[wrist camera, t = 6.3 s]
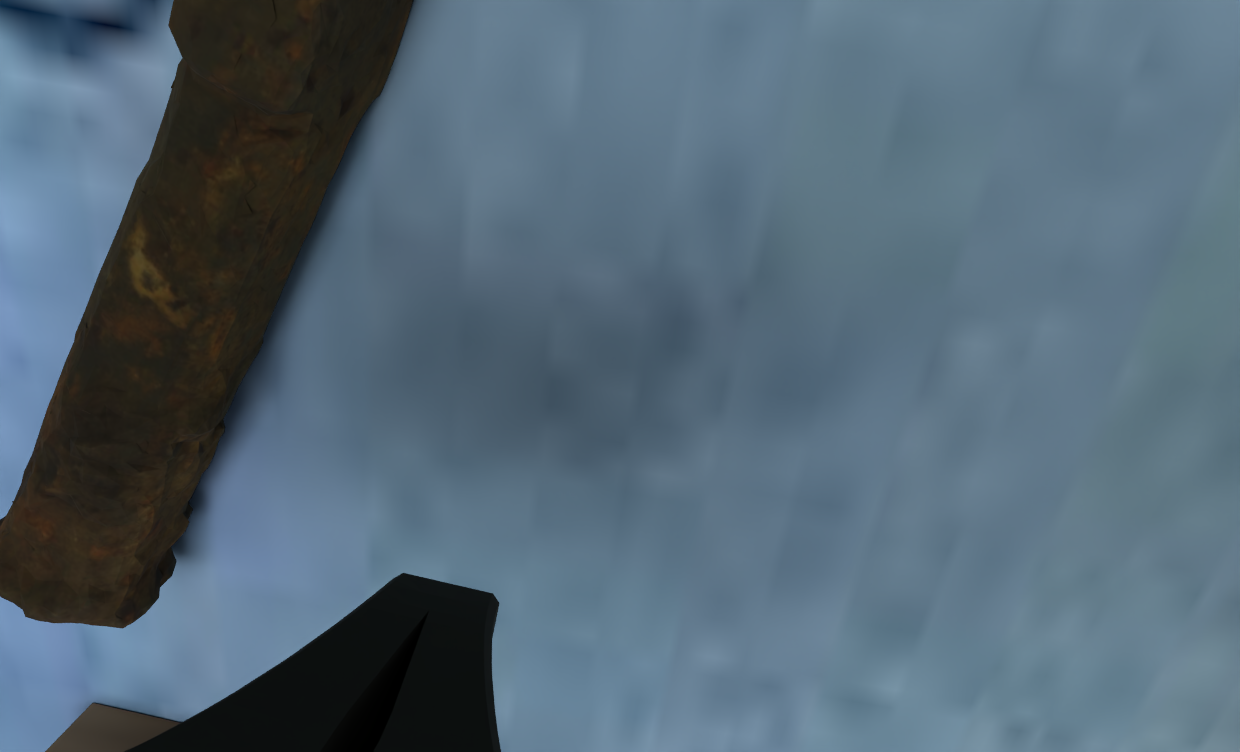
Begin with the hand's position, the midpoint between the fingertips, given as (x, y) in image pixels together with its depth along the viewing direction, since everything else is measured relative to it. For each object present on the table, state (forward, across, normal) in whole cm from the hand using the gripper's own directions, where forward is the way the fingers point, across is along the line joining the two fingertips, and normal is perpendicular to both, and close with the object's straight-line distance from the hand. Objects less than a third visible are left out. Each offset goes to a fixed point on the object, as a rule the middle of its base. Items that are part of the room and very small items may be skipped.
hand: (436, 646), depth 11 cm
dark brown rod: (+10, +8, -3) cm, 13 cm away
